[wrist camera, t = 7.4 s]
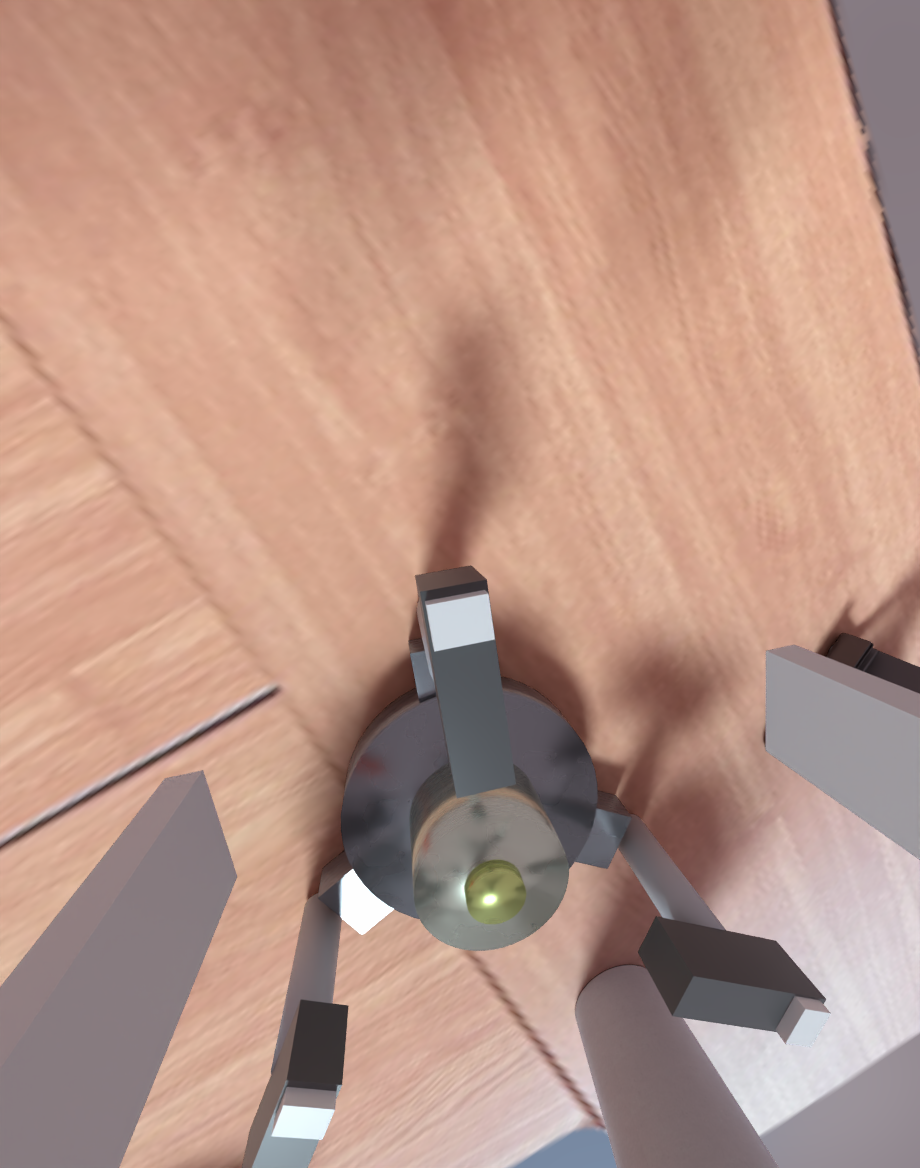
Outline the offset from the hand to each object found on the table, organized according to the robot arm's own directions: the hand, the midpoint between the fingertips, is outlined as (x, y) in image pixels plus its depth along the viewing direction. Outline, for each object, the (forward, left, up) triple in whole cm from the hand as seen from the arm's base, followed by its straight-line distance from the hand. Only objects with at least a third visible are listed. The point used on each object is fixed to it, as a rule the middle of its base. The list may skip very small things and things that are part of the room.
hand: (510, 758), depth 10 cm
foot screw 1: (-10, -17, -14) cm, 24 cm away
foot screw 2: (+9, -17, -14) cm, 24 cm away
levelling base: (0, -10, -14) cm, 17 cm away
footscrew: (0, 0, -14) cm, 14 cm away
